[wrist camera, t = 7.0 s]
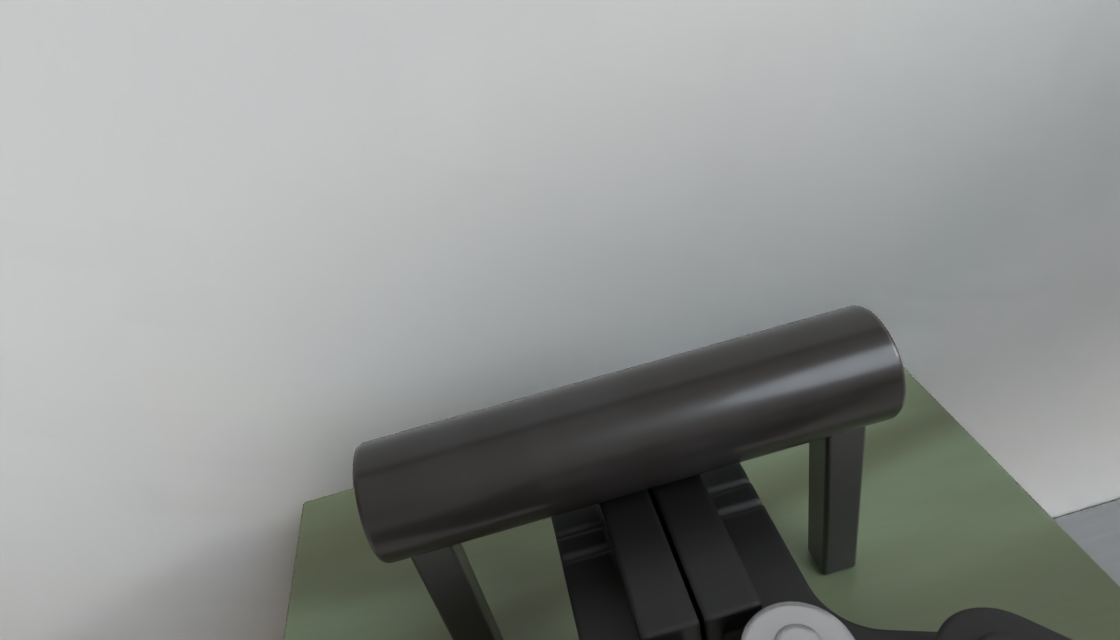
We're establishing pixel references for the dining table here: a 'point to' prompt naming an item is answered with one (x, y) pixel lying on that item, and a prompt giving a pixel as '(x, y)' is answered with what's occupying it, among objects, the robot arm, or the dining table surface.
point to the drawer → (684, 451)
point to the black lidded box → (1097, 534)
